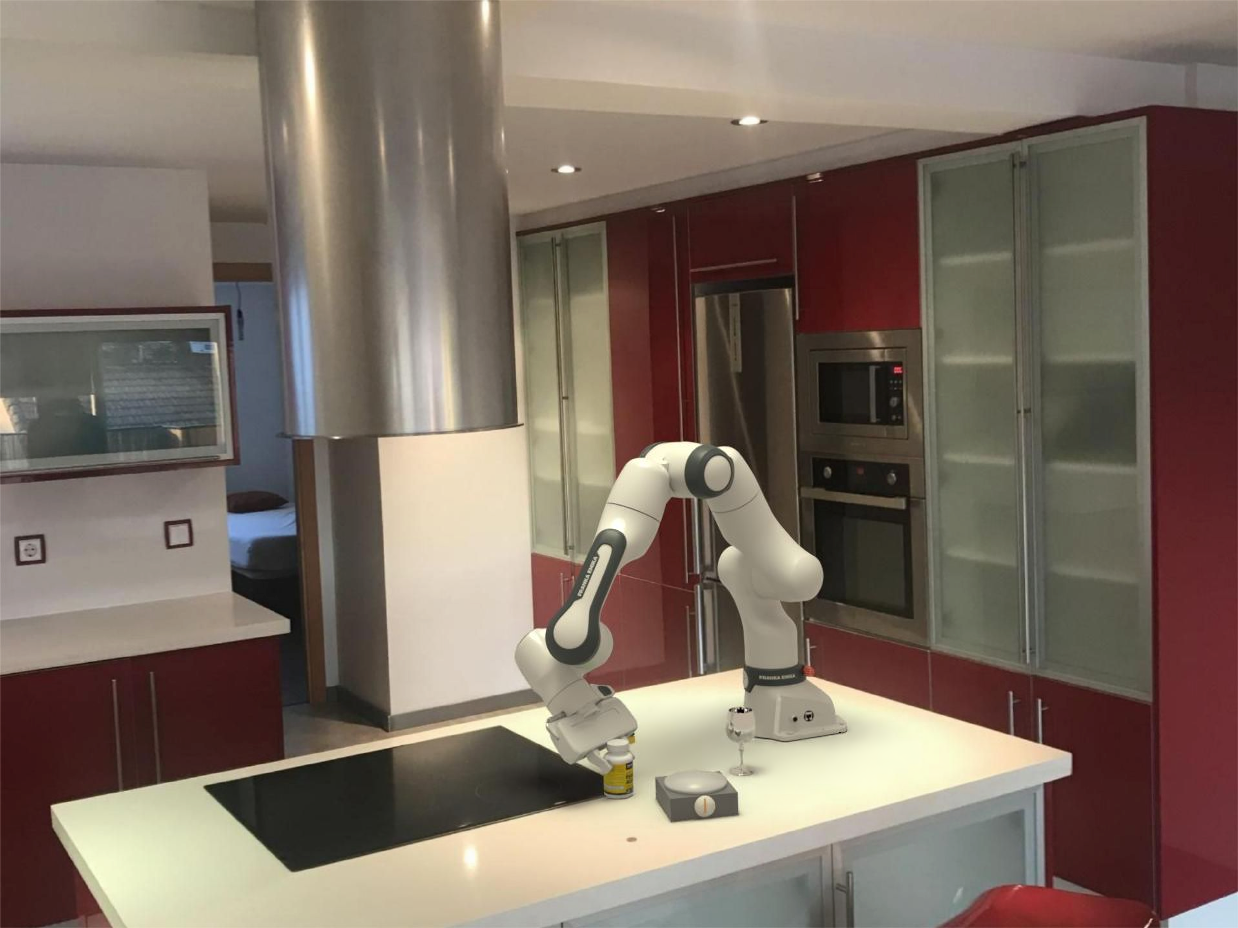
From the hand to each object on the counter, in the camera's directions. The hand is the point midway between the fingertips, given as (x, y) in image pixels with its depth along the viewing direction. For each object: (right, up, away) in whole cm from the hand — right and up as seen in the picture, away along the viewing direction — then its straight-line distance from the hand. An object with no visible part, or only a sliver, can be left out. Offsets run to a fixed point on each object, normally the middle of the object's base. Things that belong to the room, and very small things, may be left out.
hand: (621, 765), depth 235 cm
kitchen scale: (+13, -6, -7) cm, 16 cm away
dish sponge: (-4, -3, +36) cm, 36 cm away
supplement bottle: (0, -6, +1) cm, 6 cm away
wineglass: (+23, -4, +11) cm, 26 cm away
